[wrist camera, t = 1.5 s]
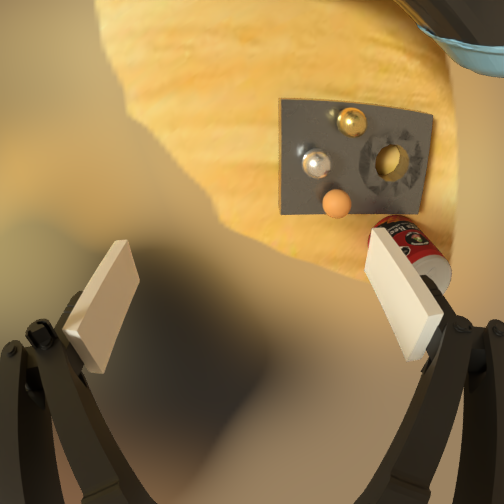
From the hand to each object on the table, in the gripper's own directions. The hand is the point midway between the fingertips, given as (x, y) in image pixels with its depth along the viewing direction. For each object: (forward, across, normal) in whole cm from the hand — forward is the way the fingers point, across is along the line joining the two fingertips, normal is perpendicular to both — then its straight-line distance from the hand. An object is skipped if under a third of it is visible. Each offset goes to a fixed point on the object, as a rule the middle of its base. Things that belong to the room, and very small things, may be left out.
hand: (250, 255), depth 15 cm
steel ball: (+16, +7, 0) cm, 18 cm away
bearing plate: (+21, +12, 0) cm, 24 cm away
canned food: (+21, +19, -12) cm, 31 cm away
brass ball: (+16, +10, +4) cm, 20 cm away
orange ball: (+16, +9, -5) cm, 19 cm away
